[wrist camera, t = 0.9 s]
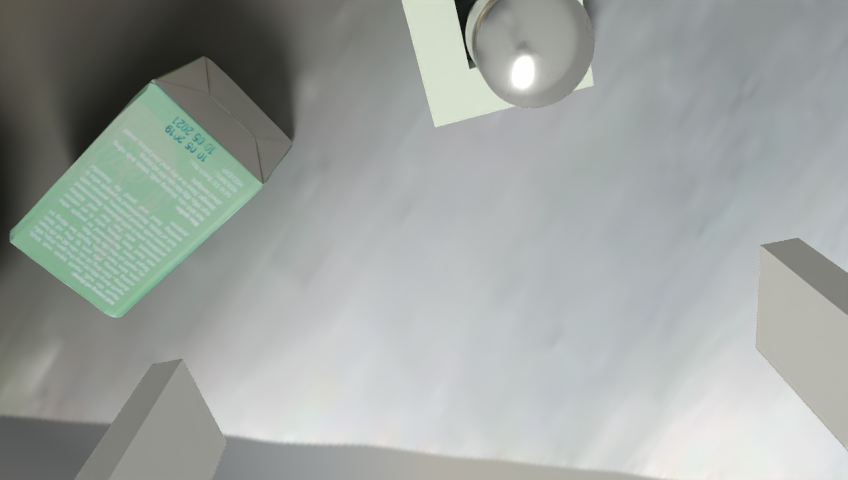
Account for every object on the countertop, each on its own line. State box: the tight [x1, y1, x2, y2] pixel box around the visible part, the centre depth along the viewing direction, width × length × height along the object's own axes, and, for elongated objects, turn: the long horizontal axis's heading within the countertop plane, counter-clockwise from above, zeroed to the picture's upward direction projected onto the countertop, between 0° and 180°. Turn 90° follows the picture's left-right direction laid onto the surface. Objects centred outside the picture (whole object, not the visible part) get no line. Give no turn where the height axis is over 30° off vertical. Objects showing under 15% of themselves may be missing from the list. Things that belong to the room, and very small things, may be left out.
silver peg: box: [465, 0, 595, 108], centre depth 25 cm, size 4×4×14 cm
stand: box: [402, 0, 593, 127], centre depth 30 cm, size 9×9×3 cm
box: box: [10, 56, 293, 318], centre depth 32 cm, size 7×14×8 cm, turn 131°
